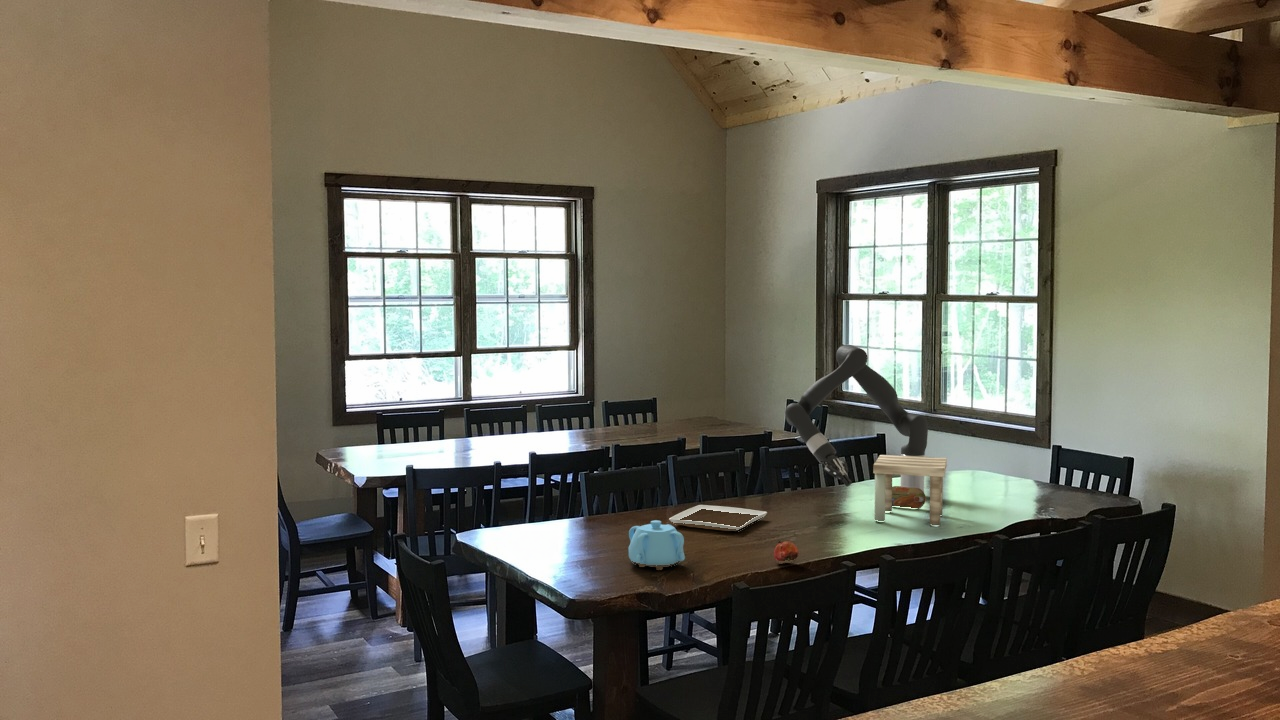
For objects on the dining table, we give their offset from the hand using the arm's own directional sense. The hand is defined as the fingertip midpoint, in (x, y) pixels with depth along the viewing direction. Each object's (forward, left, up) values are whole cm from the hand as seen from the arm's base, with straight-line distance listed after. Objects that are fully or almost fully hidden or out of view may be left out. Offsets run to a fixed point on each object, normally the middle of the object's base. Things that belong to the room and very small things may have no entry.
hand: (849, 484), depth 375 cm
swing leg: (+1, +12, -12) cm, 16 cm away
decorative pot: (+86, -47, -12) cm, 98 cm away
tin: (-22, +18, -12) cm, 31 cm away
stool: (-3, +21, -12) cm, 25 cm away
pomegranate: (+73, -10, -12) cm, 74 cm away
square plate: (+25, -43, -13) cm, 51 cm away
